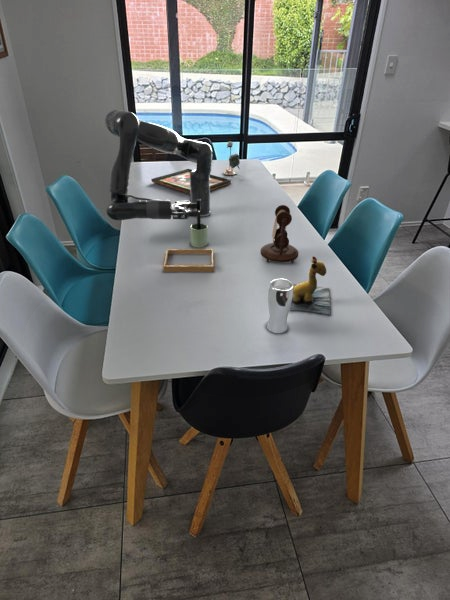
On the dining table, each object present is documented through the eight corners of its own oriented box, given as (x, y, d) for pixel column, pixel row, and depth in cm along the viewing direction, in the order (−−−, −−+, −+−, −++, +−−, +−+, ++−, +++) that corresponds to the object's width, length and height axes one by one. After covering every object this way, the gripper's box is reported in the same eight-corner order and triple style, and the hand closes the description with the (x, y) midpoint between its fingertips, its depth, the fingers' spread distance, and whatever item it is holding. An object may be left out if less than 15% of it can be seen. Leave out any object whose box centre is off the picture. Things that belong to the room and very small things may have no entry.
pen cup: (191, 240, 168) (190, 223, 164) (207, 240, 169) (207, 223, 164) (190, 248, 163) (189, 230, 158) (207, 248, 163) (207, 230, 158)
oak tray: (163, 272, 146) (163, 266, 145) (167, 254, 158) (166, 249, 156) (213, 272, 147) (213, 266, 145) (212, 254, 158) (212, 249, 157)
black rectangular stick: (197, 240, 167) (196, 199, 157) (200, 240, 167) (200, 199, 157) (197, 244, 164) (196, 202, 154) (200, 244, 164) (200, 202, 154)
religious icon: (234, 181, 237) (234, 177, 236) (200, 198, 212) (200, 193, 211) (183, 171, 254) (183, 166, 252) (146, 185, 229) (146, 180, 227)
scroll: (259, 247, 164) (263, 200, 153) (295, 249, 164) (301, 201, 153) (261, 265, 152) (265, 215, 141) (299, 266, 151) (306, 216, 140)
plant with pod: (241, 175, 249) (242, 141, 238) (223, 175, 247) (224, 141, 236) (238, 171, 256) (240, 138, 244) (221, 172, 254) (221, 138, 243)
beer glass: (263, 320, 122) (267, 278, 114) (286, 319, 123) (291, 277, 114) (267, 334, 116) (271, 291, 108) (291, 333, 117) (297, 290, 109)
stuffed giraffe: (330, 315, 125) (337, 269, 116) (272, 310, 128) (275, 265, 119) (328, 290, 138) (334, 247, 130) (276, 286, 141) (279, 244, 133)
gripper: (156, 206, 150) (199, 207, 151) (160, 194, 162) (200, 194, 163) (157, 225, 155) (199, 225, 155) (161, 211, 166) (200, 212, 167)
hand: (199, 209), depth 159 cm, fingers open, 8 cm apart
